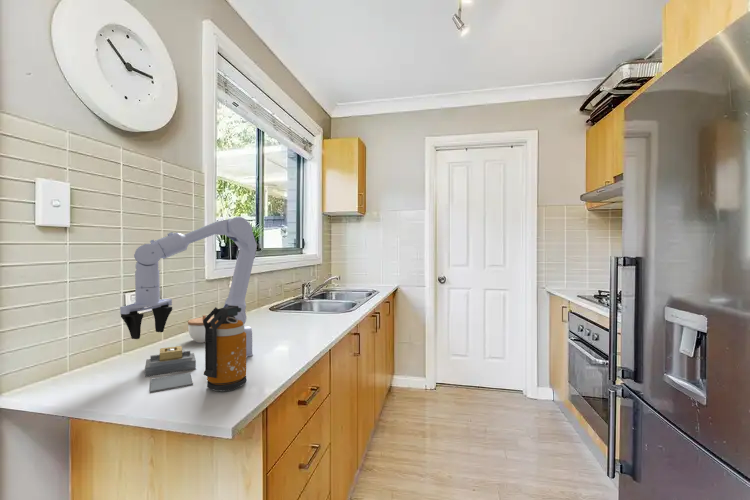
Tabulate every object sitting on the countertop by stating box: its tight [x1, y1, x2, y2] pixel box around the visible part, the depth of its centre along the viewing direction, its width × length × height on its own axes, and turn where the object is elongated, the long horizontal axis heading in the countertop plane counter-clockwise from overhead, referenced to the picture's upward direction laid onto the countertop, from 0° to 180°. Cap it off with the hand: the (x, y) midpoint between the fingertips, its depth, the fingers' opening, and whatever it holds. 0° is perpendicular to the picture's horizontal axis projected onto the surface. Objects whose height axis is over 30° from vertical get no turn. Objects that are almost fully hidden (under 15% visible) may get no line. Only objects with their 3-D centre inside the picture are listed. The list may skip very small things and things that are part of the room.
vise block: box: [144, 349, 197, 378], centre depth 98 cm, size 12×8×6 cm, turn 121°
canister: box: [203, 306, 247, 392], centre depth 85 cm, size 9×11×20 cm
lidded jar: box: [187, 314, 218, 344], centre depth 129 cm, size 11×11×9 cm
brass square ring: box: [159, 345, 183, 361], centre depth 98 cm, size 5×5×3 cm
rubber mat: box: [149, 372, 194, 394], centre depth 88 cm, size 9×9×1 cm
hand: (148, 335), depth 97 cm, fingers open, 7 cm apart
